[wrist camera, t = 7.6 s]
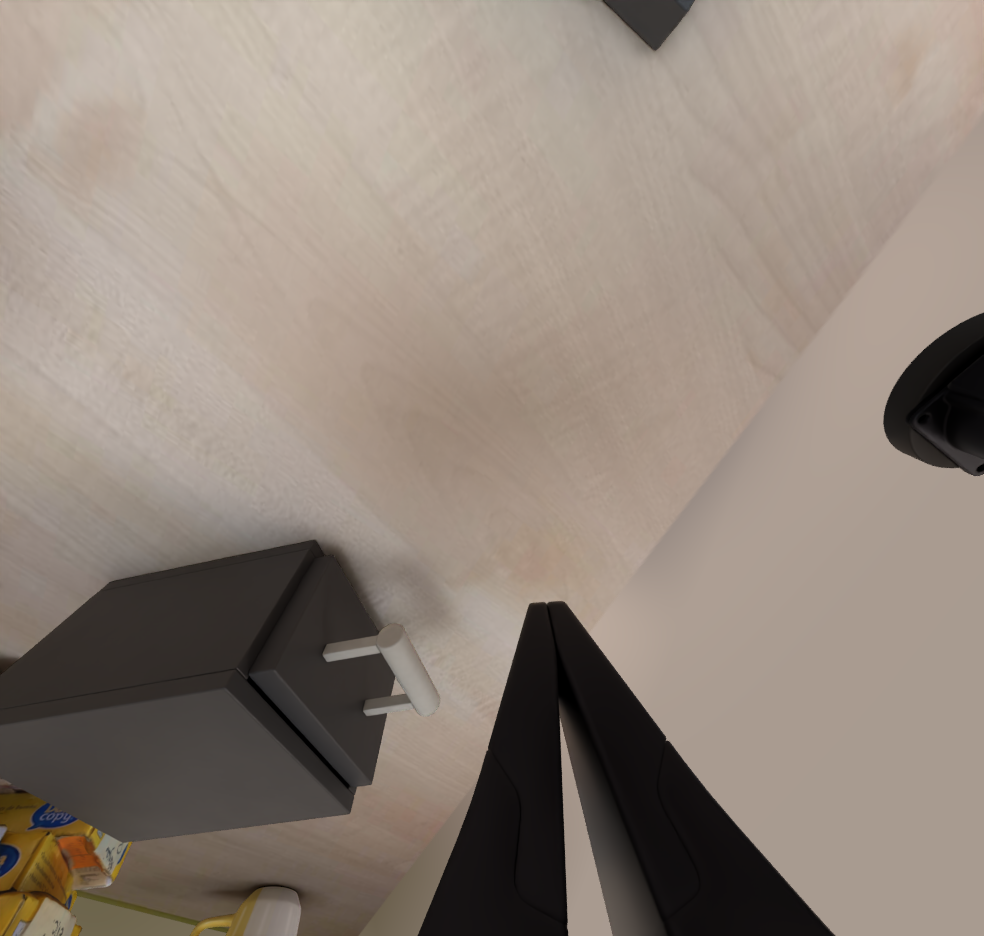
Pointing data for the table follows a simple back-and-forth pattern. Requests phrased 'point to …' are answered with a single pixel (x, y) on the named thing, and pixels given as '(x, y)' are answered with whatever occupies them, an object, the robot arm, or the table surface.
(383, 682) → the drawer
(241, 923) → the mug
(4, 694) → the black box
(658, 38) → the control block
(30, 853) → the stack of yellow boxes
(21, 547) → the table surface
